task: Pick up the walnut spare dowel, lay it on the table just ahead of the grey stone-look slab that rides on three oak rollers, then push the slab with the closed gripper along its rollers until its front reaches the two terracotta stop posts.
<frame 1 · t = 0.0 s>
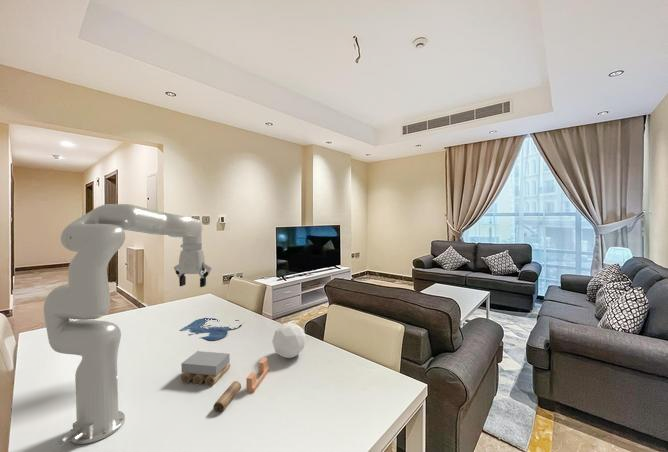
hand: (192, 286, 129), 31 cm above the table, fingers open, 9 cm apart
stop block: (257, 380, 112), on the table
roller a: (218, 372, 114), point 2 cm above the table, touching grey slab
white faceted ball: (289, 355, 131), on the table
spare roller: (228, 396, 99), point 2 cm above the table
roller c: (194, 370, 115), point 2 cm above the table, touching grey slab
grey slab: (206, 367, 114), point 3 cm above the table, touching roller a, roller c
blue ragged flat patch: (210, 329, 162), on the table
roller b: (206, 371, 115), point 2 cm above the table
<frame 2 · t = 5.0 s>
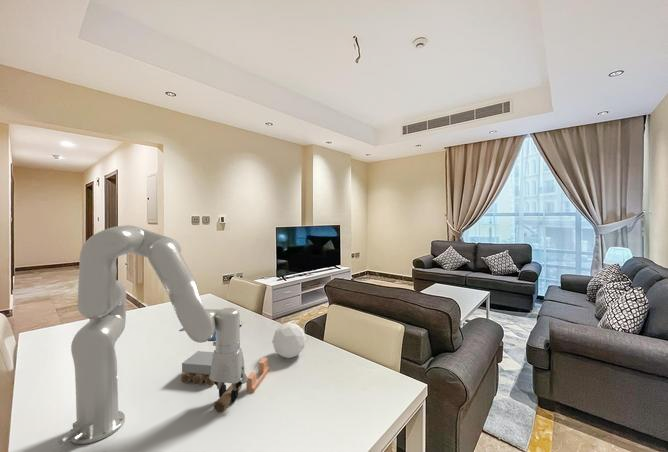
hand: (228, 398, 99), 1 cm above the table, fingers closed on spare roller, 3 cm apart
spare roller: (228, 395, 99), point 2 cm above the table, touching gripper
everything else where it was.
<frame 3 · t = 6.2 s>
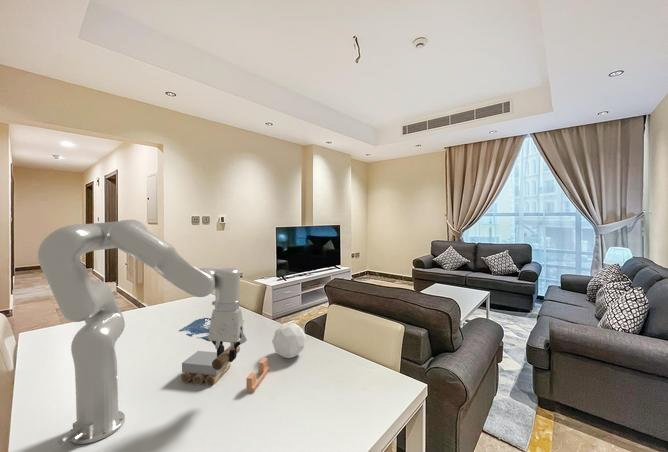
hand: (226, 359, 99), 14 cm above the table, fingers closed on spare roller, 3 cm apart
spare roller: (226, 356, 99), point 15 cm above the table, touching gripper
roller c: (195, 370, 116), point 2 cm above the table
grey slab: (206, 366, 115), point 3 cm above the table, touching roller a
everything else where it was.
when the fingers open (2 cm above the table, at t = 10.1 s): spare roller drops 2 cm, point 1 cm above the table.
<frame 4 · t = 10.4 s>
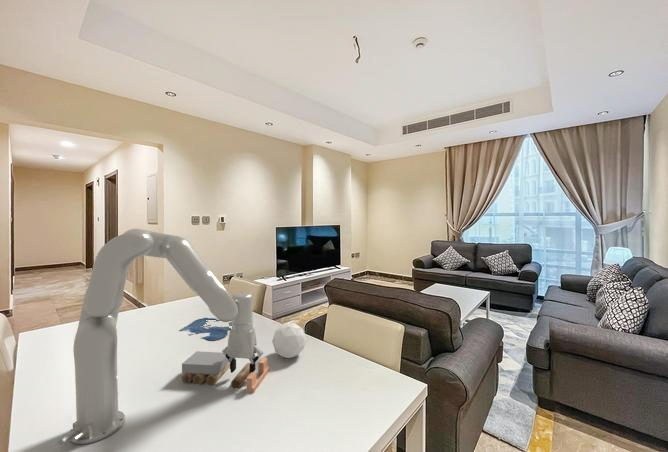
hand: (242, 371, 112), 3 cm above the table, fingers open, 7 cm apart
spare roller: (243, 375, 112), point 1 cm above the table
roller c: (195, 370, 115), point 2 cm above the table, touching grey slab
grey slab: (206, 366, 115), point 3 cm above the table, touching roller a, roller c
everything else where it was.
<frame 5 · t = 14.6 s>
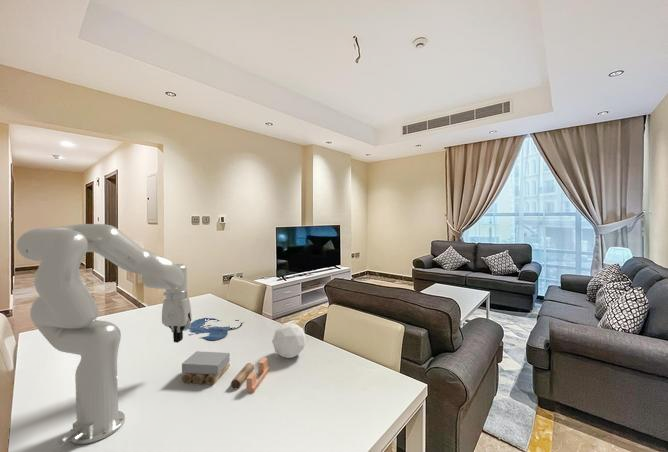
hand: (178, 340, 117), 13 cm above the table, fingers closed
nothing on the table moved.
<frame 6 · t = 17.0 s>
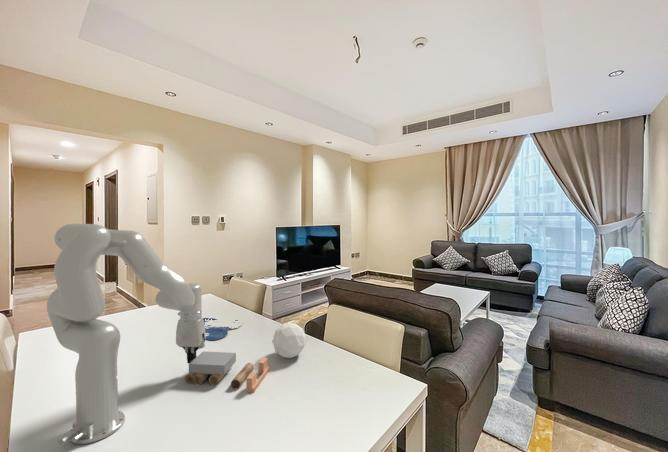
hand: (191, 361, 115), 5 cm above the table, fingers closed
roller a: (221, 371, 114), point 2 cm above the table, tilted 44°, touching grey slab
roller c: (198, 370, 115), point 2 cm above the table, tilted 33°, touching grey slab, roller b
grey slab: (213, 366, 115), point 3 cm above the table, touching roller a, roller c
roller b: (206, 371, 115), point 2 cm above the table, touching roller c
everything else where it was.
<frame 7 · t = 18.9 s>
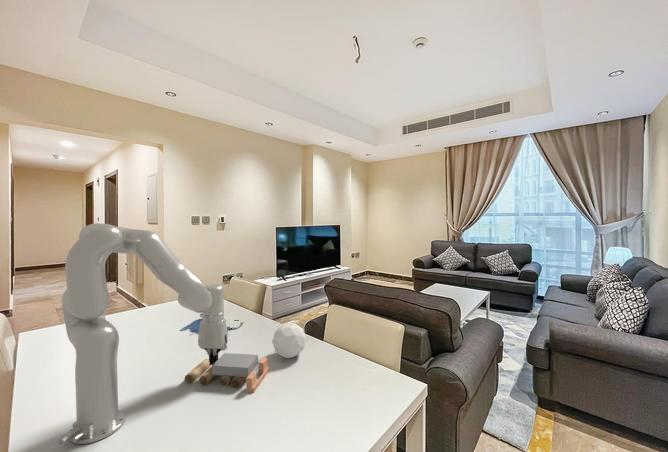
hand: (213, 363, 114), 5 cm above the table, fingers closed
roller a: (231, 372, 114), point 2 cm above the table, tilted 179°, touching grey slab
roller c: (198, 370, 115), point 1 cm above the table, tilted 30°
grey slab: (235, 368, 113), point 3 cm above the table, touching roller a
roller b: (212, 372, 114), point 1 cm above the table, tilted 60°
everything else where it was.
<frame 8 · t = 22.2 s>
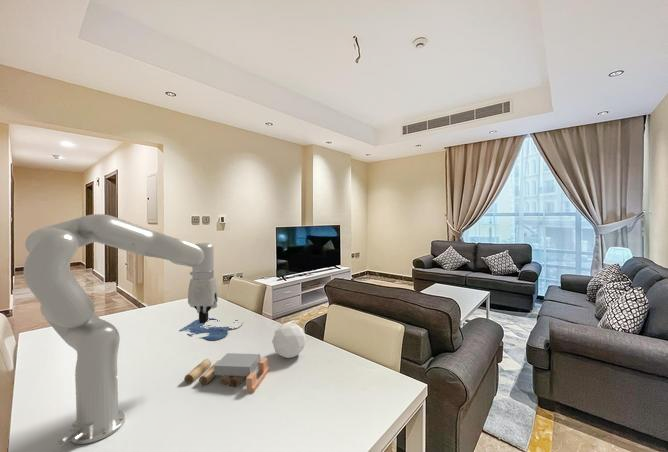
hand: (203, 322, 114), 21 cm above the table, fingers closed
roller a: (232, 372, 114), point 2 cm above the table, tilted 174°, touching grey slab
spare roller: (242, 374, 113), point 2 cm above the table, tilted 6°
at the end: grey slab inside the target area (2.0 cm from its centre), point 3.3 cm above the table; grey slab tilted 0°; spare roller inside the target area (1.8 cm from its centre), point 1.6 cm above the table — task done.
